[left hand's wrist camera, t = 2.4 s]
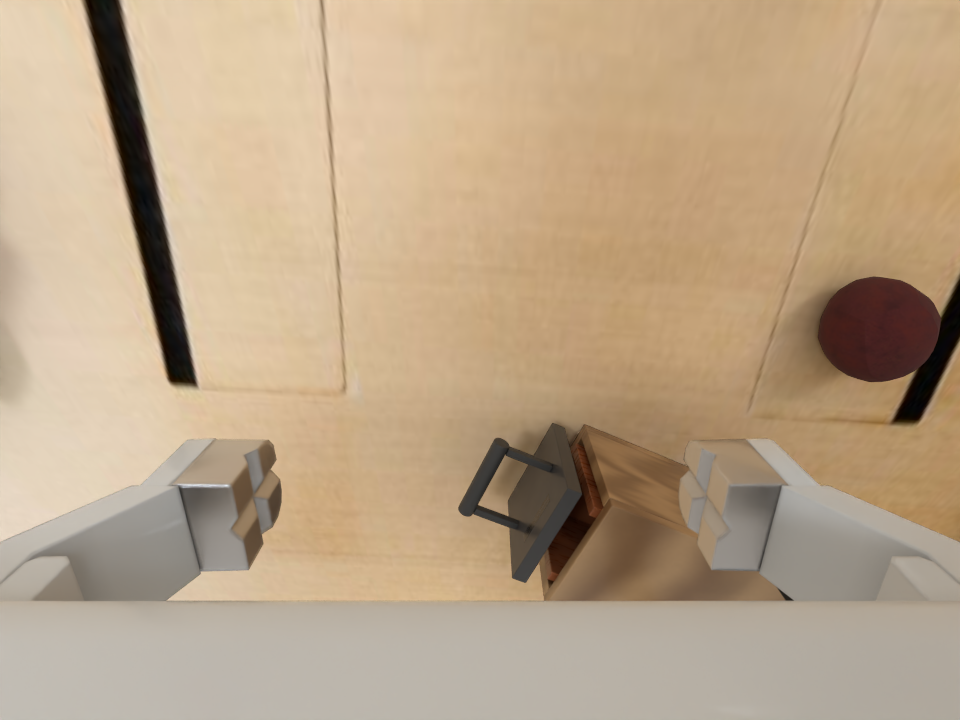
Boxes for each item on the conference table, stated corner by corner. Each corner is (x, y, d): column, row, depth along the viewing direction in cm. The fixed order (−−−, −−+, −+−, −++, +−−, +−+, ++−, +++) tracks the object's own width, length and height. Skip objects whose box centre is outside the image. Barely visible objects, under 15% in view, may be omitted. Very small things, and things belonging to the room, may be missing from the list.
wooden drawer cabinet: (532, 509, 50) (544, 606, 39) (584, 423, 46) (612, 505, 36) (678, 564, 52) (726, 669, 42) (739, 487, 48) (807, 581, 38)
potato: (808, 371, 43) (864, 411, 37) (790, 289, 41) (847, 316, 34) (900, 338, 42) (975, 373, 36) (887, 251, 40) (966, 272, 33)
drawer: (456, 481, 47) (449, 556, 39) (498, 400, 44) (501, 462, 35) (648, 553, 50) (681, 638, 42) (700, 482, 47) (748, 558, 38)
